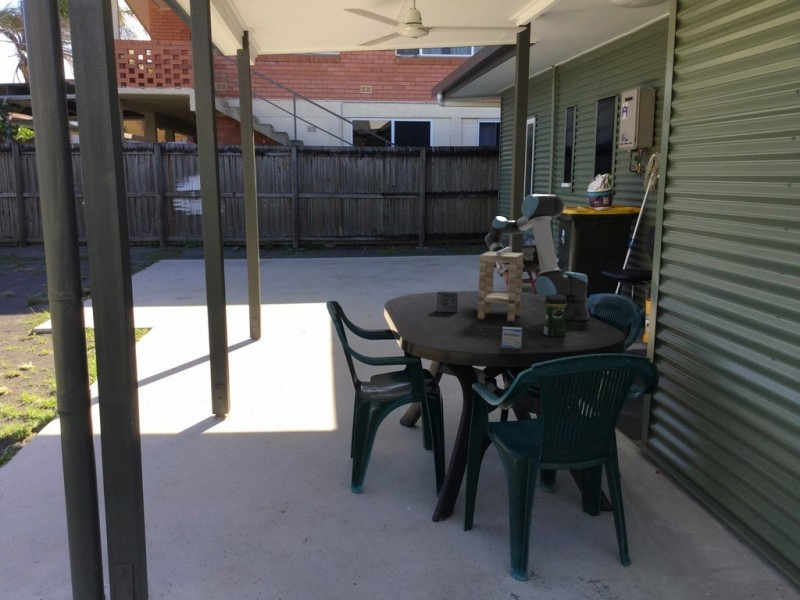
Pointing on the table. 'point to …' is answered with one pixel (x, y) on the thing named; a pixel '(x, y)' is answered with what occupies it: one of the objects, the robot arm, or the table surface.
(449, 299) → the small box
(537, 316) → the table surface
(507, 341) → the medicine box
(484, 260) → the shelf stand
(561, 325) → the coffee jar
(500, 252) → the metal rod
